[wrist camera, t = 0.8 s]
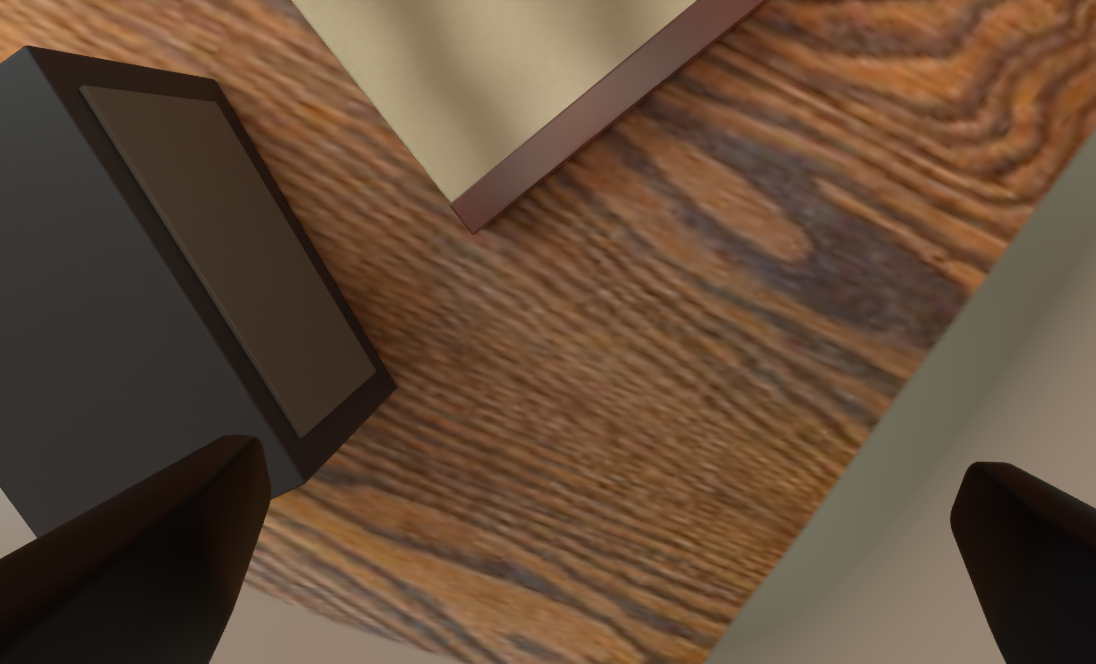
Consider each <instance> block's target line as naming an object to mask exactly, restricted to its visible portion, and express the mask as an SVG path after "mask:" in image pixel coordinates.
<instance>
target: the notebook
mask: <svg viewBox="0 0 1096 664" xmlns="http://www.w3.org/2000/svg"><path fill="white" fill-rule="evenodd" d="M291 1H292V2H293V3H294V5H295V6H296V7H297V8H298V10H299V11H300V12H301V14H302V15H303V16H304V17H305V19H306V20H307V21H308V22H309V24H310V25H311V26H312V28H313V29H314V30H315V31H316V33H317V34H318V35H319V36H320V38H321V39H322V40H323V42H324V43H325V44H326V45H327V47H328V48H329V49H330V50H331V52H332V53H333V54H334V56H335V57H336V58H337V59H338V61H339V62H340V63H341V64H342V66H343V67H344V68H345V70H346V71H347V72H348V73H349V75H350V76H351V77H352V78H353V80H354V81H355V82H356V84H357V85H358V86H359V87H360V89H361V90H362V91H363V93H364V94H365V95H366V96H367V98H368V99H369V100H370V101H371V103H372V104H373V105H374V107H375V108H376V109H377V110H378V112H379V113H380V114H381V115H382V117H383V118H384V119H385V121H386V122H387V123H388V124H389V126H390V127H391V128H392V129H393V131H394V132H395V133H396V135H397V136H398V137H399V138H400V140H401V141H402V142H403V143H404V145H405V146H406V147H407V149H408V150H409V151H410V152H411V154H412V155H413V156H414V157H415V159H416V160H417V161H418V163H419V164H420V165H421V166H422V168H423V169H424V170H425V171H426V173H427V174H428V175H429V177H430V178H431V179H432V180H433V182H434V183H435V184H436V185H437V187H438V188H439V189H440V191H441V192H442V193H443V194H444V196H445V197H446V198H447V199H448V201H449V202H450V207H451V208H452V209H453V211H454V212H455V213H456V215H457V216H458V217H459V218H460V220H461V221H462V222H463V223H464V225H465V226H466V227H467V229H468V230H469V231H470V232H471V234H476V233H477V232H479V231H481V230H483V229H484V228H486V227H487V226H488V225H489V224H491V223H492V222H493V221H494V220H496V219H497V218H498V217H499V216H501V215H502V214H503V213H504V212H506V211H507V210H508V209H509V208H510V207H512V206H513V205H514V204H515V203H517V202H518V201H519V200H520V199H522V198H523V197H524V196H525V195H527V194H528V193H529V192H530V191H532V190H533V189H534V188H535V187H537V186H538V185H539V184H540V183H542V182H543V181H544V180H545V179H547V178H548V177H549V176H550V175H552V174H553V173H554V172H555V171H557V170H558V169H559V168H560V167H562V166H563V165H564V164H565V163H567V162H568V161H569V160H570V159H572V158H573V157H574V156H575V155H577V154H578V153H579V152H580V151H582V150H583V149H584V148H585V147H587V146H588V145H589V144H590V143H592V142H593V141H594V140H595V139H597V138H598V137H599V136H600V135H602V134H603V133H604V132H605V131H607V130H608V129H609V128H610V127H612V126H613V125H614V124H615V123H617V122H618V121H619V120H620V119H622V118H623V117H624V116H625V115H627V114H628V113H629V112H630V111H632V110H633V109H634V108H635V107H637V106H638V105H639V104H640V103H642V102H643V101H644V100H645V99H647V98H648V97H649V96H650V95H652V94H653V93H654V92H655V91H657V90H658V89H659V88H660V87H662V86H663V85H664V84H665V83H666V82H668V81H669V80H670V79H671V78H673V77H674V76H675V75H676V74H678V73H679V72H680V71H681V70H683V69H684V68H685V67H686V66H688V65H689V64H690V63H691V62H693V61H694V60H695V59H696V58H698V57H699V56H700V55H701V54H703V53H704V52H705V51H706V50H708V49H709V48H710V47H711V46H713V45H714V44H715V43H716V42H718V41H719V40H720V39H721V38H723V37H724V36H725V35H726V34H728V33H729V32H730V31H731V30H733V29H734V28H735V27H736V26H738V25H739V24H740V23H741V22H743V21H744V20H745V19H746V18H748V17H749V16H750V15H751V14H753V13H754V12H755V11H756V10H758V9H759V8H760V7H761V6H763V5H764V4H765V3H766V2H768V1H769V0H291Z"/></svg>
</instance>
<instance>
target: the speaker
mask: <svg viewBox="0 0 1096 664" xmlns="http://www.w3.org/2000/svg"><path fill="white" fill-rule="evenodd" d="M396 388H397V387H396V385H395V383H394V382H393V380H392V378H391V377H390V375H389V373H388V372H387V370H386V368H385V366H384V365H383V363H382V361H381V360H380V358H379V356H378V355H377V353H376V351H375V350H374V348H373V346H372V345H371V343H370V341H369V339H368V338H367V336H366V334H365V333H364V331H363V329H362V328H361V326H360V324H359V323H358V321H357V319H356V318H355V316H354V314H353V312H352V311H351V309H350V307H349V306H348V304H347V302H346V301H345V299H344V297H343V296H342V294H341V292H340V291H339V289H338V287H337V286H336V284H335V282H334V280H333V279H332V277H331V275H330V274H329V272H328V270H327V269H326V267H325V265H324V264H323V262H322V260H321V259H320V257H319V255H318V253H317V252H316V250H315V248H314V247H313V245H312V243H311V242H310V240H309V238H308V237H307V235H306V233H305V232H304V230H303V228H302V226H301V225H300V223H299V221H298V220H297V218H296V216H295V215H294V213H293V211H292V210H291V208H290V206H289V205H288V203H287V201H286V199H285V198H284V196H283V194H282V193H281V191H280V189H279V188H278V186H277V184H276V183H275V181H274V179H273V178H272V176H271V174H270V172H269V171H268V169H267V167H266V166H265V164H264V162H263V161H262V159H261V157H260V156H259V154H258V152H257V151H256V149H255V147H254V145H253V144H252V142H251V140H250V139H249V137H248V135H247V134H246V132H245V130H244V129H243V127H242V125H241V124H240V122H239V120H238V118H237V117H236V115H235V113H234V112H233V110H232V108H231V107H230V105H229V103H228V102H227V100H226V98H225V97H224V95H223V93H222V91H221V90H220V88H219V86H218V85H217V83H216V81H215V80H214V79H209V78H204V77H198V76H193V75H187V74H182V73H176V72H171V71H165V70H160V69H154V68H149V67H143V66H138V65H132V64H127V63H121V62H116V61H111V60H105V59H100V58H94V57H89V56H83V55H78V54H72V53H67V52H61V51H56V50H50V49H45V48H39V47H34V46H24V47H23V48H21V49H20V50H19V51H17V52H16V53H14V54H13V55H12V56H10V57H9V58H8V59H6V60H5V61H3V62H2V63H1V64H0V488H1V489H2V491H3V492H4V493H5V494H6V496H7V497H8V499H9V500H10V502H11V503H12V504H13V506H14V507H15V508H16V510H17V511H18V512H19V514H20V515H21V516H22V518H23V519H24V521H25V522H26V523H27V525H28V526H29V527H30V529H31V530H32V532H33V533H34V534H35V536H36V537H37V538H39V537H41V536H43V535H44V534H46V533H48V532H50V531H52V530H53V529H55V528H57V527H59V526H61V525H62V524H64V523H66V522H68V521H70V520H71V519H73V518H75V517H77V516H79V515H81V514H82V513H84V512H86V511H88V510H90V509H91V508H93V507H95V506H97V505H99V504H100V503H102V502H104V501H106V500H108V499H109V498H111V497H113V496H115V495H117V494H119V493H120V492H122V491H124V490H126V489H128V488H129V487H131V486H133V485H135V484H137V483H138V482H140V481H142V480H144V479H146V478H147V477H149V476H151V475H153V474H155V473H157V472H158V471H160V470H162V469H164V468H166V467H167V466H169V465H171V464H173V463H175V462H176V461H178V460H180V459H182V458H184V457H186V456H187V455H189V454H191V453H193V452H195V451H196V450H198V449H200V448H202V447H204V446H205V445H207V444H209V443H211V442H213V441H214V440H216V439H218V438H220V437H222V436H224V435H254V436H256V437H258V438H259V439H260V441H261V442H262V445H263V448H264V453H265V458H266V463H267V468H268V473H269V477H270V482H271V500H272V499H274V498H276V497H278V496H280V495H282V494H284V493H286V492H289V491H291V490H293V489H295V488H297V487H299V486H301V485H303V484H305V483H306V482H307V481H308V480H309V479H310V478H311V477H312V476H313V475H314V474H315V473H316V472H317V471H318V470H319V469H320V468H321V467H322V466H323V464H324V463H325V462H326V461H327V460H328V459H329V458H330V457H331V456H332V455H333V454H334V453H335V452H336V451H337V450H338V449H339V448H340V447H341V446H342V445H343V444H344V443H345V442H346V441H347V439H348V438H349V437H350V436H351V435H352V434H353V433H354V432H355V431H356V430H357V429H358V428H359V427H360V426H361V425H362V424H363V423H364V422H365V421H366V420H367V419H368V418H369V417H370V416H371V414H372V413H373V412H374V411H375V410H376V409H377V408H378V407H379V406H380V405H381V404H382V403H383V402H384V401H385V400H386V399H387V398H388V397H389V396H390V395H391V394H392V393H393V392H394V391H395V389H396Z"/></svg>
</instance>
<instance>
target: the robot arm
mask: <svg viewBox="0 0 1096 664" xmlns="http://www.w3.org/2000/svg"><path fill="white" fill-rule="evenodd" d="M270 501H271V482H270V477H269V473H268V468H267V463H266V458H265V453H264V448H263V445H262V442H261V441H260V439H259V438H258V437H256V436H254V435H224V436H222V437H220V438H218V439H216V440H214V441H213V442H211V443H209V444H207V445H205V446H204V447H202V448H200V449H198V450H196V451H195V452H193V453H191V454H189V455H187V456H186V457H184V458H182V459H180V460H178V461H176V462H175V463H173V464H171V465H169V466H167V467H166V468H164V469H162V470H160V471H158V472H157V473H155V474H153V475H151V476H149V477H147V478H146V479H144V480H142V481H140V482H138V483H137V484H135V485H133V486H131V487H129V488H128V489H126V490H124V491H122V492H120V493H119V494H117V495H115V496H113V497H111V498H109V499H108V500H106V501H104V502H102V503H100V504H99V505H97V506H95V507H93V508H91V509H90V510H88V511H86V512H84V513H82V514H81V515H79V516H77V517H75V518H73V519H71V520H70V521H68V522H66V523H64V524H62V525H61V526H59V527H57V528H55V529H53V530H52V531H50V532H48V533H46V534H44V535H43V536H41V537H39V538H37V539H35V540H33V541H32V542H30V543H28V544H26V545H24V546H23V547H21V548H19V549H17V550H15V551H14V552H12V553H10V554H8V555H6V556H5V557H3V558H1V559H0V664H209V662H210V660H211V658H212V655H213V653H214V651H215V649H216V647H217V645H218V642H219V641H220V638H221V636H222V634H223V632H224V629H225V627H226V625H227V623H228V621H229V618H230V616H231V614H232V612H233V609H234V606H235V603H236V601H237V598H238V595H239V593H240V590H241V586H242V584H243V581H244V578H245V575H246V572H247V569H248V566H249V564H250V561H251V558H252V555H253V552H254V549H255V546H256V543H257V540H258V537H259V534H260V531H261V528H262V526H263V523H264V520H265V517H266V514H267V511H268V508H269V505H270ZM950 524H951V529H952V532H953V534H954V538H955V540H956V542H957V545H958V548H959V550H960V553H961V555H962V558H963V560H964V563H965V566H966V568H967V571H968V573H969V576H970V578H971V581H972V584H973V586H974V589H975V591H976V594H977V596H978V599H979V601H980V604H981V607H982V609H983V612H984V614H985V617H986V619H987V622H988V625H989V627H990V629H991V632H992V634H993V636H994V639H995V641H996V643H997V645H998V647H999V649H1000V652H1001V653H1002V656H1003V658H1004V660H1005V662H1006V664H1096V509H1095V508H1094V507H1092V506H1090V505H1088V504H1086V503H1084V502H1082V501H1080V500H1078V499H1077V498H1074V497H1073V496H1071V495H1069V494H1067V493H1065V492H1063V491H1061V490H1059V489H1058V488H1056V487H1054V486H1052V485H1050V484H1048V483H1046V482H1044V481H1043V480H1041V479H1039V478H1037V477H1035V476H1033V475H1031V474H1029V473H1027V472H1026V471H1023V470H1022V469H1020V468H1018V467H1016V466H1014V465H1012V464H1009V463H1004V462H975V463H973V464H971V465H970V466H969V467H968V469H967V471H966V473H965V476H964V478H963V481H962V483H961V486H960V489H959V491H958V494H957V496H956V499H955V502H954V504H953V507H952V510H951V516H950Z"/></svg>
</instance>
